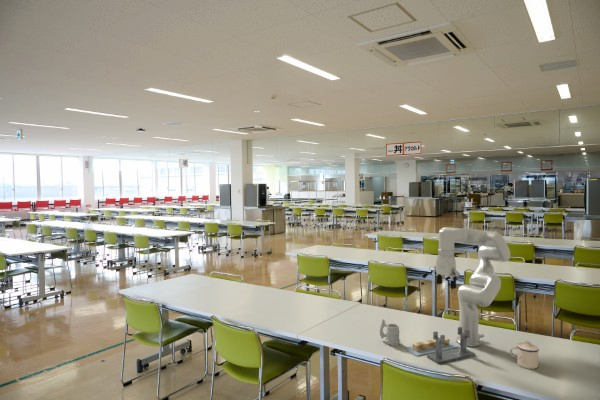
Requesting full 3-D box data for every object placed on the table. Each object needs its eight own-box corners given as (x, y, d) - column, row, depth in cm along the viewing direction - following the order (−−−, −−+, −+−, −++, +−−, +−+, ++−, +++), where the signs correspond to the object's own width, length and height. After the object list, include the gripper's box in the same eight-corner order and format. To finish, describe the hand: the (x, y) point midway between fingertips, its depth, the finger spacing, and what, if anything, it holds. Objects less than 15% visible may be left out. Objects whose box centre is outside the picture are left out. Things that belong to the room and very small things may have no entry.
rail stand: (463, 349, 202) (463, 325, 201) (475, 355, 194) (475, 330, 194) (426, 357, 192) (427, 331, 192) (438, 364, 185) (438, 337, 185)
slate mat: (445, 340, 214) (445, 339, 214) (458, 347, 204) (458, 346, 204) (403, 348, 203) (403, 347, 203) (416, 356, 194) (416, 355, 194)
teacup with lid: (539, 364, 185) (539, 340, 185) (537, 371, 178) (538, 346, 177) (511, 357, 192) (511, 334, 192) (508, 364, 185) (508, 340, 184)
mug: (396, 347, 204) (396, 325, 204) (376, 341, 212) (376, 320, 212) (402, 343, 210) (402, 321, 210) (383, 337, 218) (383, 316, 218)
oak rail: (445, 342, 209) (445, 337, 209) (449, 344, 206) (449, 339, 206) (412, 349, 201) (412, 343, 201) (416, 351, 198) (416, 345, 198)
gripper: (429, 251, 204) (428, 282, 205) (453, 256, 189) (453, 290, 189) (440, 250, 207) (439, 281, 208) (465, 255, 191) (464, 289, 192)
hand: (446, 285), depth 198 cm, fingers open, 9 cm apart
